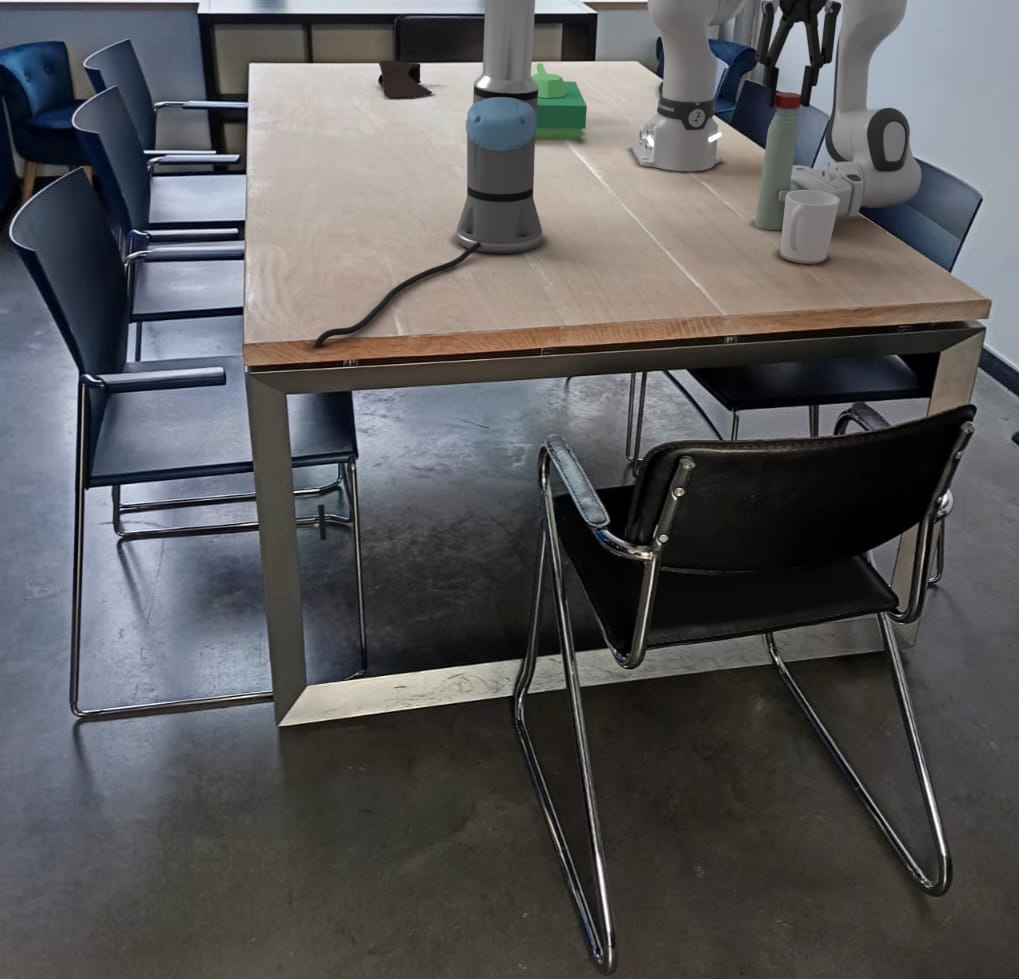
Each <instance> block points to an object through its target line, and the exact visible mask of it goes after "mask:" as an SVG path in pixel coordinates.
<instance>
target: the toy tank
mask: <svg viewBox="0 0 1019 979" xmlns="http://www.w3.org/2000/svg"><path fill="white" fill-rule="evenodd" d="M536 70H537V73H534V74H533V75H531V77H532V78H533V80H534V81H535V82H536V83H537V84H538V105H537V131H536V136H535V141H537V140H541V141H545V140H546V141H581V140H582V133H583V130H585V129H586V127H587V124H586V123H587V110H588V109H587V108H588V104H587V103H586V101H585V99H584V97H583V94H582V92H581V90H580V88H579V87H578V86H579V85H578V84H577V82H576V81H569V80H568V81H565V80H563V77H562V76H560V75H558V74H556V73H547V72H546V68H545V67H544V64H543V63H536Z"/></svg>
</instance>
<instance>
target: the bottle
mask: <svg viewBox="0 0 1019 979" xmlns="http://www.w3.org/2000/svg"><path fill="white" fill-rule="evenodd" d="M796 116H797V114H796V109H783V108H778V107H776V112H775V113H774V116H773V117H772V120H771V121H770V124H769V126H768V128H767V134H766V143H765V150H764V156H763V164H762V171H761V178H760V184H761V185H760V184H759V193H758V199H757V208H756V214H755V221H754V226H755V227H757V228H758V229H762V230H767V231H777V230H778V231H779V230H782V228H783V219H784V209H785V201H780V200H778V199H777V198H776V195H777V191H778V190H782V189H787V190H789V188H790V181H791V175H792V168H793V165H794V162H795V155H796V149H797V142H798V135H799V126H798V122H797V118H796Z"/></svg>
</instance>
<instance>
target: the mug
mask: <svg viewBox="0 0 1019 979" xmlns="http://www.w3.org/2000/svg"><path fill="white" fill-rule="evenodd" d="M839 200H840V199H839V198H838V197H837V196H835V195H832V194H830V193H826V192H821V191H813V190H797V191H792V192H789V193H787V194H786V200H785V209H784V219H783V228H782V229H781V239H780V248H779V254H780V257H782V258H783V259H785V260H787V261H790V262H793V263H797V264H805V265H806V264H809V265H813V264H819V263H823V262H824V261H825V260H827V258H828V253H829V248H830V245H831V240H832V236H833V231H834V227H835V223H836V218H837V215H836V214H837V210H838V205H839Z"/></svg>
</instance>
